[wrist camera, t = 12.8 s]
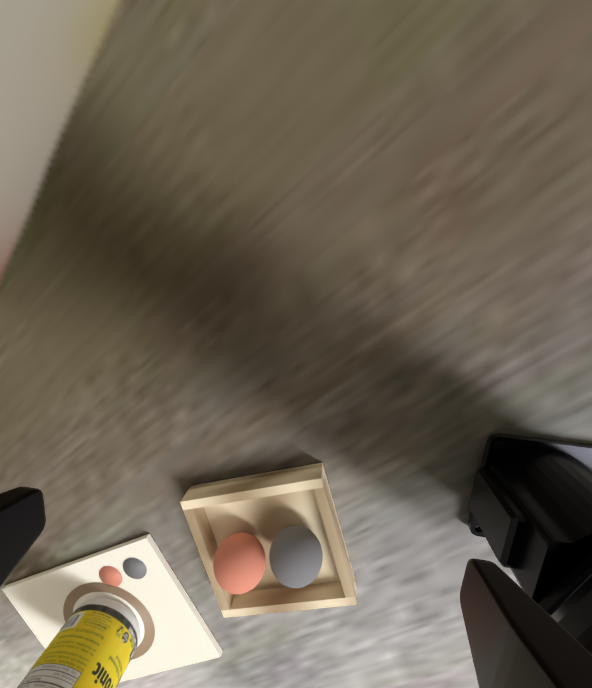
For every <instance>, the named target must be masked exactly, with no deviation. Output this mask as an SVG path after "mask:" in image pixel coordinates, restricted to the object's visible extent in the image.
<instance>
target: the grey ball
mask: <svg viewBox="0 0 592 688" xmlns="http://www.w3.org/2000/svg"><path fill="white" fill-rule="evenodd" d="M322 560H323V553H322V548H321V544H320V542H319V540H318V538H317V537H316V535H315V534H314V533H313V532H312V531H311V530H310V529H308V528H306V527H303V526H300V525H292V526H288V527H286V528H284V529H282V530H281V531H280V532H279V533H278V534H277V535H276V536H275V538H274V540H273V542H272V544H271V547H270V552H269V561H270V566H271V569H272V572H273V574H274V576H275V577H276V578H277V580H278V581H279V582H280V583H282V584H283V585H285V586H287V587H290V588H302V587H305V586H307V585H309V584H310V583H311V582H313V581H314V579H315V578H316V577H317V575H318V574H319V572H320V569H321V566H322Z"/></svg>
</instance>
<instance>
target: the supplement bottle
mask: <svg viewBox="0 0 592 688" xmlns="http://www.w3.org/2000/svg"><path fill="white" fill-rule="evenodd" d="M140 634H141V632H140V626H139V623H138V621H137V619H136V617H135V616H134V614H133V613H132V612H131V611H130V610H129V609H128V608H127V607H126V606H124V605H123V604H121V603H119V602H117V601H114V600H111V599H107V598H93V599H89V600H87V601H85V602H83V603H82V604H81V605H79V606H78V607H77V609H76V610H75V611H74V612H73V614H72V615H71V616H70V617H69V619H68V620H67V621H66V623H65V624H64V625H63V627H62V628H61V629H60V631H59V632H58V633H57V635H56V636H55V637H54V639H53V640H52V641H51V643H50V644H49V645H48V647H47V648H46V649H45V651H44V652H43V653H42V655H41V656H40V657H39V659H38V660H37V661H36V663H35V664H34V666H33V667H32V668H31V670H30V671H29V672H28V674H27V675H26V676H25V678H24V679H23V680H22V682H21V683H20V684H19V686H18V687H17V688H116V687H117V685H118V684H119V682H120V680H121V678H122V676H123V674H124V672H125V670H126V668H127V666H128V664H129V662H130V661H131V659H132V657H133V655H134V652H135V650H136V648H137V646H138V644H139V641H140Z"/></svg>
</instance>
